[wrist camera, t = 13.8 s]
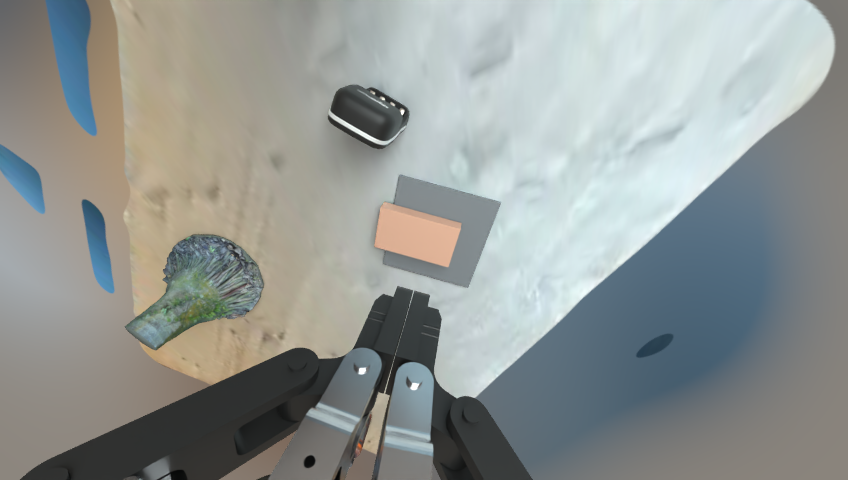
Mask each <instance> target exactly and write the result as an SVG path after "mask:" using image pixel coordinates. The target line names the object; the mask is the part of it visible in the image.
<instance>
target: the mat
mask: <svg viewBox="0 0 848 480" xmlns="http://www.w3.org/2000/svg"><path fill="white" fill-rule="evenodd" d="M500 204H501V202H498V201H495V200H491V199H487V198H484V197H480V196H476V195H473V194H469V193H465V192H462V191H458V190H454V189H451V188H447V187H443V186H440V185H436V184H432V183H429V182H425V181H421V180H418V179H414V178H410V177H407V176H403V175H400V176H399V180H398V186H397V191H396V196H395V202H394V205H398V206H401V207H405V208H409V209H412V210H416V211H419V212H423V213H427V214H430V215H434V216H438V217H441V218H445V219H448V220H452V221H456V222H459V223H461V230H460V233H459V236H458V239H457V242H456V245H455V248H454V251H453V254H452V258H451V261H450V264H449V267H445V266H441V265H438V264H434V263H431V262H427V261H423V260H420V259H416V258H413V257H409V256H406V255H402V254H398V253H395V252H391V251H388V250H385V255H384V261H383V264H385V265H389V266H392V267H396V268H400V269H403V270H407V271H410V272H414V273H417V274H421V275H424V276H428V277H432V278H435V279H439V280H442V281H446V282H449V283H453V284H456V285H460V286H464V287H467V288H468V287H469V284H470V282H471V279H472V276H473V274H474V271H475V269H476V266H477V263H478V261H479V258H480V256H481V253H482V250H483V248H484V245H485V243H486V240H487V238H488V235H489V232H490V230H491V227H492V225H493V222H494V219H495V217H496V214H497V212H498V209H499V207H500Z"/></svg>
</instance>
